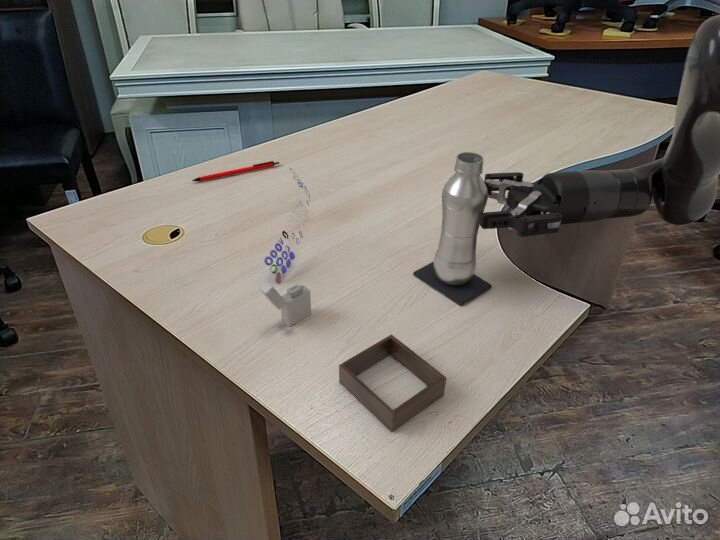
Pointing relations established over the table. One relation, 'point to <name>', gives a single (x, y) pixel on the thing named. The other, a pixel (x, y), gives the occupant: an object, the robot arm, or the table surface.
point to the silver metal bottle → (461, 220)
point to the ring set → (291, 254)
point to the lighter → (290, 302)
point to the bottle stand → (411, 362)
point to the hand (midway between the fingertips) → (470, 205)
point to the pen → (237, 171)
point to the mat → (453, 292)
